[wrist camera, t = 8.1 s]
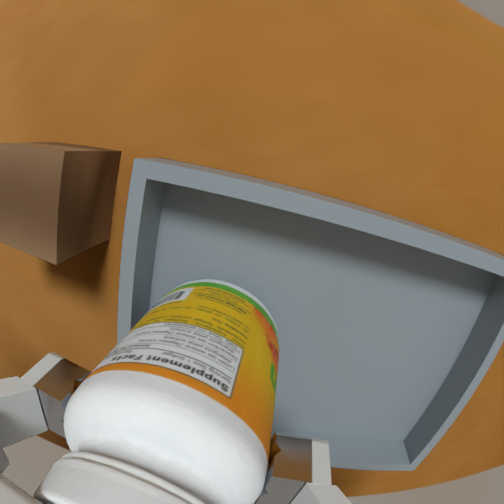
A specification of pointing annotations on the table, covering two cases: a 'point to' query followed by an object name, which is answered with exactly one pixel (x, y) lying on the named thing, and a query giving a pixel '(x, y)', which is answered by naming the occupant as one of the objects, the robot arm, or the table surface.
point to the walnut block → (56, 198)
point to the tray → (326, 302)
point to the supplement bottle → (175, 407)
